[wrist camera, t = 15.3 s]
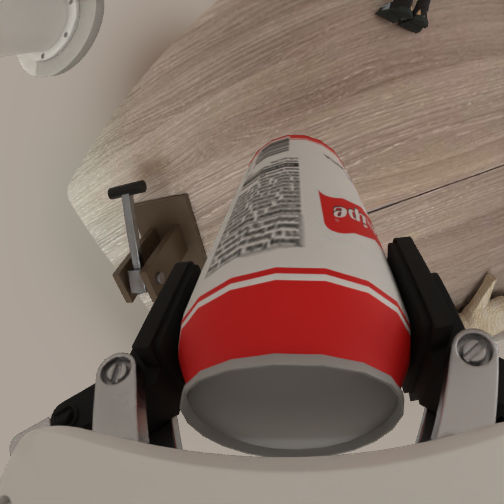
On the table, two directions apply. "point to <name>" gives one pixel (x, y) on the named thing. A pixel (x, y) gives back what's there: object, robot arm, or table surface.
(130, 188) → the grey lever handle
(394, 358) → the beer can
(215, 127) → the table surface
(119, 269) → the tap bracket
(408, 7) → the figurine
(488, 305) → the toy
